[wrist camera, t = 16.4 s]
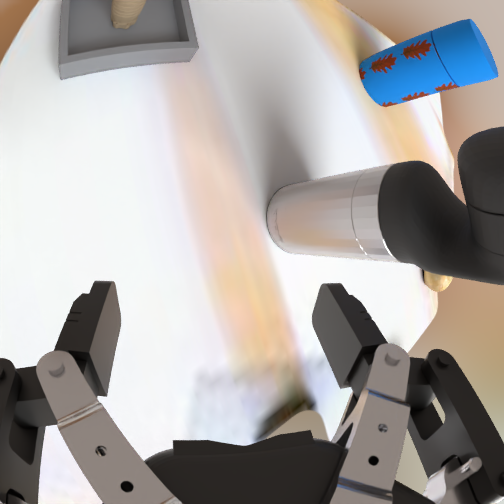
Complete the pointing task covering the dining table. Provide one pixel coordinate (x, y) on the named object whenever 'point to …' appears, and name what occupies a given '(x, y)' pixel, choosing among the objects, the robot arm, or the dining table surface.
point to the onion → (436, 281)
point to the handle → (125, 12)
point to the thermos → (429, 64)
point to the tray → (123, 36)
